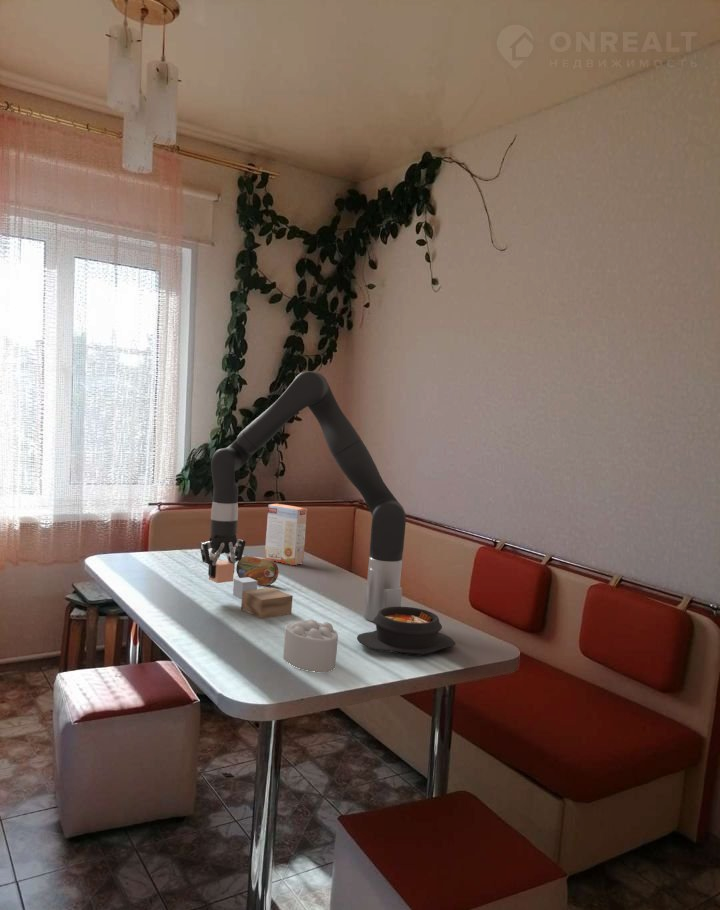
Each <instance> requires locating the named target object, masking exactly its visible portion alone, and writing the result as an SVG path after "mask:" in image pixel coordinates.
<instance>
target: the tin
mask: <svg viewBox="0 0 720 910" xmlns="http://www.w3.org/2000/svg"><path fill="white" fill-rule="evenodd" d="M235 571H236V574H237V576H238V578H245V577H249V578H252V579H254V580H256V581H258V582H257V586H258V585H259V586H265V587H266V586H270V585H272V584H274V583H275V582H276V581H277V580H278V577H279V568H278V564H277V562H274V561H273V560H270V559H265V557H258V556H254V555H244V556H242V558H241V560H240V561H237V563H236V569H235Z"/></svg>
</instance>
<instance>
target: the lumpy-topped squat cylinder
mask: <svg viewBox="0 0 720 910" xmlns="http://www.w3.org/2000/svg"><path fill="white" fill-rule="evenodd" d="M284 630H285V631H284V643H283V656H282V659H283V660H284V661H285V662H286V663H287V662H288V663H287V664H289V663H290V664H291V665H290V664H289V665H290V666H292V665H293V666H295V667H297V668H300V669H299V670H301V669H304V670H303V671H305V670H308V671H307V672H309V671H315V672H314V673H317V672H325V673H330V672H332V671H334V670H335V669H336V667H337V666H336V664H337V653H338V652H337V651H338V650H337V649H338V639H339V636H338V635H339V634H338V632H337V631H336V630H334V626H333V625H332V623H330V622H323V623H320V622H317V620H314V619H309V620H308V619H307V620H301V621H299V620H298V621H295V622H293V623H292V624H288V625H286V626H285V628H284ZM293 666H292V667H293ZM295 667H294V668H295ZM297 668H296V669H297ZM334 668H335V669H334ZM333 669H334V670H333ZM331 670H332V671H331ZM329 671H330V672H329Z"/></svg>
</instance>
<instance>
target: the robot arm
mask: <svg viewBox="0 0 720 910" xmlns="http://www.w3.org/2000/svg"><path fill="white" fill-rule="evenodd" d="M305 408H308V409H309V410H310V411H311V412H312V414H313V416H314V417H315V419H316V420H317V422H318V424H319V426H320V428H321V429H320V430H321V431H322V434H323V437H324V439H325V442H326V445H327V448H328V450H329V451H330V453H331V455H332V457H333V458H334V461H335V462H336V464H337V465H338V467H339V468H340V470H341V472H343V474H344V475H345V476H346V478H347V479H348V480H349V482H350V483H352V485H353V486H354V487H355V488H356V489H357V491H358V492H359V494H361V497H362V499H364V501H365V504H366V506H367V507H368V510H369V513H370V514H371V516H372V517H371V525H370V526H371V529H370V530H371V531H370V540H369V541H370V543H369V554H368V555H369V557H368V567H367V569H368V570H367V580H366V593H365V603H364V604H365V606H364V616H363V617H364V619H366V621H370V622H372V623H373V622H374V618H375V617H376V616H377V614H378V612H379V611H380V610H381V609H383V608H388V607H402V597H403V588H402V587H401V578H402V576H401V575H402V566H403V565H402V563H403V556H404V555H403V553H404V545H405V536H406V535H405V534H406V525H407V523H406V522H407V519H406V518H407V516H406V512H405V509H404V507H403V505H402V504H401V503H400V502H399V501H398V500H397V498H396V497H395V496H394V494H393V493H392V492H391V490H390V489H389V488H388V486H387V485H386V483H385V482H384V480H383V479H382V476H381V474H380V471H379V470H378V468H377V465H376V463H375V461H374V459H373V457H372V455H371V453H370V451H369V450H368V448H367V446H366V445H365V443H364V441H363V439H362V438H361V436H360V435H359V434H358V432H357V430H356V429H355V427H354V426H353V425H352V423H351V421H349V419H348V417H347V416H346V415H345V413H344V412H343V411H342V409H341V406H340V405H339V403H338V402H337V399H336V398H335V395H334V393H333V391H332V389H331V387H330V385H329V383H328V380H327V379H326V377H325V376H324V375H323V374H321V373H320V372H317V371H311V370H306V371H302V372H300V373H298V374H297V376H295V378H294V379H293V381H292V382H291V383H290V384H289V385H288V387H287V388H286V389H285V391H284V392H283V393H282V394H280V396H279V397H278V399H276V400H275V402H273V403H272V404H271V405H270V406H268V407H267V409H265V411H263V412H262V413H261V414H260V415H258V417H256V418H255V419H254V420H252V421H251V422H250V423H249V424H248V425H247V426H245V428H243V429H242V430H241V431H240V432H239V434H238V435H237V436H236V439H235V440H234V441H233V442H232V443H231V444H230V445H228V446H227V447H224V448H219V449H216V451H215V452H214V453H213V455H212V457H211V463H210V467H211V469H210V471H211V478H212V485H213V491H212V503H211V510H210V527H209V528H210V529H209V533H210V537H209V539H208V541H205V542H202V541H200V542H199V549H200V553H201V554H200V555H201V560H202V563H205V564H207V565H208V577H209V576H210V578H215V576H216V562H217V561H219V560H218V559H219V558H220V557H221V555H222V554H225V556H226V558H227V561H228V562H230V563H233V564H234V568H235V566H236V565H235V564H237V563H238V561H240V560H241V558H242V557H243V554H244V550H245V546H246V541H245V540H243V539H238V538H237V534H238V521H239V520H238V519H239V505H238V501H239V486H238V483H237V482H236V479H235V478H236V475H235V474H236V473H235V472H237V471H238V470H239V469H240V468H242V467H243V466H244V465H245V464H246V463H247V462H248V461H249V460H250V459H251V458H252V456H253V455H254V454H255V453H256V452H258V451H259V450H260V449H261V448H262V447H263V446H265V445H266V444H267V443H268V442H269V441H270V440H271V439H273V437H274V436H275V435H276V434H277V433H278V432H279V431H280V430H281V429H282V427H284V425H285V424H286V423H288V421H289V420H290V419H291V418H293V417H294V416H296V415H297V414H298V413H299V412H301V411H302V410H304V409H305ZM234 547H235V548H234ZM210 548H211V550H210ZM209 550H210V551H209ZM236 562H237V563H236Z"/></svg>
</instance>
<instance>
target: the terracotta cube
mask: <svg viewBox="0 0 720 910" xmlns="http://www.w3.org/2000/svg"><path fill="white" fill-rule="evenodd" d="M234 575H235V567H234V564H233V563H230V562H228V560H217V562H216V576H215V578H210V576H209V575H208V580H210V581H212V582H213V583H216V584H219V583H229V582H234Z"/></svg>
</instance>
